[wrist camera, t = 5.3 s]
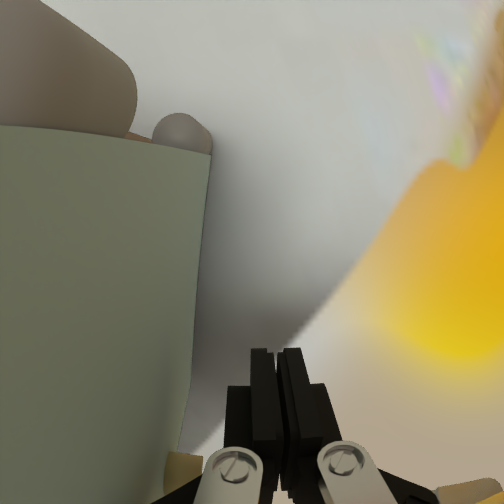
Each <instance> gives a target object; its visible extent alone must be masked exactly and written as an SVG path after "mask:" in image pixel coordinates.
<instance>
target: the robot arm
mask: <svg viewBox="0 0 504 504" xmlns="http://www.w3.org/2000/svg"><path fill="white" fill-rule="evenodd" d="M279 473H280V482H281V490H282V491H288V498H289V499H290V498H293V503H295V504H504V491H503V489H502V487H501V485H500V483H498V481H496V480H495V479H492V478H483V479H479V480H474V481H470V482H465V483H460V484H454V485H449V486H443V487H438V488H437V489H436V490H432V491H431V490H429V489H427V488H424V487H422V486H419V485H417V484H414V483H412V482H409V481H407V480H404V479H402V478H399V477H397V476H394V475H392V474H390V473H387V472H385V471H383V470H380V469H378V468H377V467H376V465H375V464H374V462H373V460H372V459H371V457H370V455H369V453H368V452H367V451H366V450H365V448H364V447H362V446H361V445H359V444H357V443H354V442H350V441H343V440H342V437H341V434H340V431H339V427H338V424H337V421H336V418H335V415H334V411H333V408H332V405H331V402H330V399H329V396H328V393H327V389H326V387H325V384H324V383H320V384H310V382H309V378H308V374H307V370H306V367H305V363H304V359H303V355H302V351H301V348H284V350H283V352H278V354H277V369H275V362H274V354H273V352H272V353H267V348H257V349H251V374H250V386H228V390H227V404H226V418H225V433H224V448H222V449H220V450H218V451H216V452H215V453H213V454H212V455H211V456H210V457H209V459H208V461H207V463H206V466H205V469H204V472H203V474H201V475H200V476H198V477H196V478H195V479H193V480H191V481H190V482H188V483H186V484H185V485H183V486H181V487H180V488H178V489H176V490H174V491H173V492H171V493H169V494H167V495H165V496H164V497H162V498H160V499H158V500H156V501H154V502H152V503H150V504H272V499H273V492H274V491H277V486H278V479H279Z"/></svg>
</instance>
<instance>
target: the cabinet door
mask: <svg viewBox="0 0 504 504" xmlns="http://www.w3.org/2000/svg"><path fill="white" fill-rule="evenodd" d="M136 106H137V87H136V82H135V78H134V76H133V73H132V71H131V70H130V68H129V67H128V65H127V64H126V63H125V62H124V61H123V60H122V59H121V58H119V57H118V56H117V55H115V54H114V53H113V52H112V51H110V50H109V49H108V48H106V47H105V46H104V45H102V44H101V43H100V42H98V41H97V40H96V39H94V38H93V37H91V36H90V35H89V34H87V33H86V32H85V31H83V30H82V29H80V28H79V27H78V26H76V25H75V24H73V23H72V22H71V21H69V20H68V19H66V18H65V17H63V16H62V15H60V14H59V13H58V12H56V11H55V10H53V9H52V8H50V7H49V6H47V5H46V4H44V3H43V2H41V1H40V0H0V504H150V503H152V502H154V501H156V500H158V499H160V498H162V497H164V496H165V495H167V494H169V493H171V492H173V491H174V490H176V489H178V488H180V487H181V486H183V485H185V484H186V483H188V482H190V481H191V480H193V479H195V478H196V477H198V476H200V475H201V474H202V465H203V456H197V455H190V454H184V453H177V448H178V443H179V438H180V433H181V428H182V423H183V418H184V413H185V409H186V404H187V399H188V394H189V389H190V385H191V369H192V350H193V334H194V319H195V305H196V292H197V280H198V269H199V258H200V248H201V238H202V229H203V219H204V210H205V202H206V193H207V185H208V177H209V169H210V162H211V155H208V154H209V153H210V151H211V148H212V137H211V135H210V133H209V131H208V130H207V129H206V128H205V127H203V126H202V125H201V124H200V123H199V122H198V121H196V120H195V119H194V118H193V117H191V116H190V115H187V114H184V113H174V114H170V115H168V116H166V117H164V118H163V119H162V120H161V121H160V122H159V123H158V124H157V126H156V127H155V129H154V132H153V137H152V143H147V142H141V141H135V140H129V139H124V138H125V136H126V134H127V133H128V131H129V129H130V127H131V124H132V122H133V119H134V116H135V111H136Z"/></svg>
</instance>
